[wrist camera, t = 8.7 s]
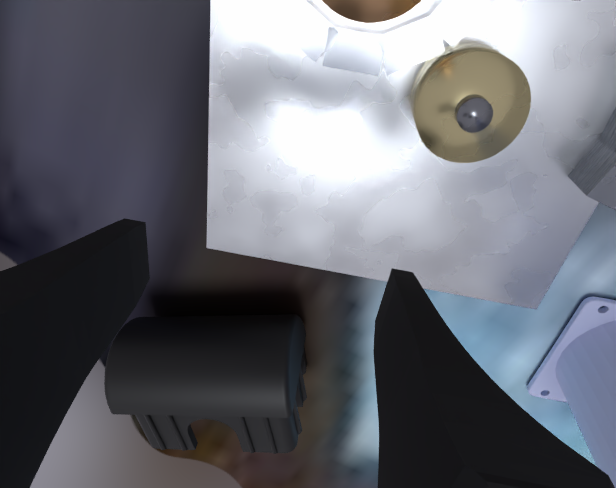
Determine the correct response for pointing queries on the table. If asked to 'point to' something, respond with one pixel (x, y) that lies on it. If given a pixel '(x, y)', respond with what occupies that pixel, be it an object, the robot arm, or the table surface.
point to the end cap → (211, 378)
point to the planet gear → (371, 9)
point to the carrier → (413, 138)
